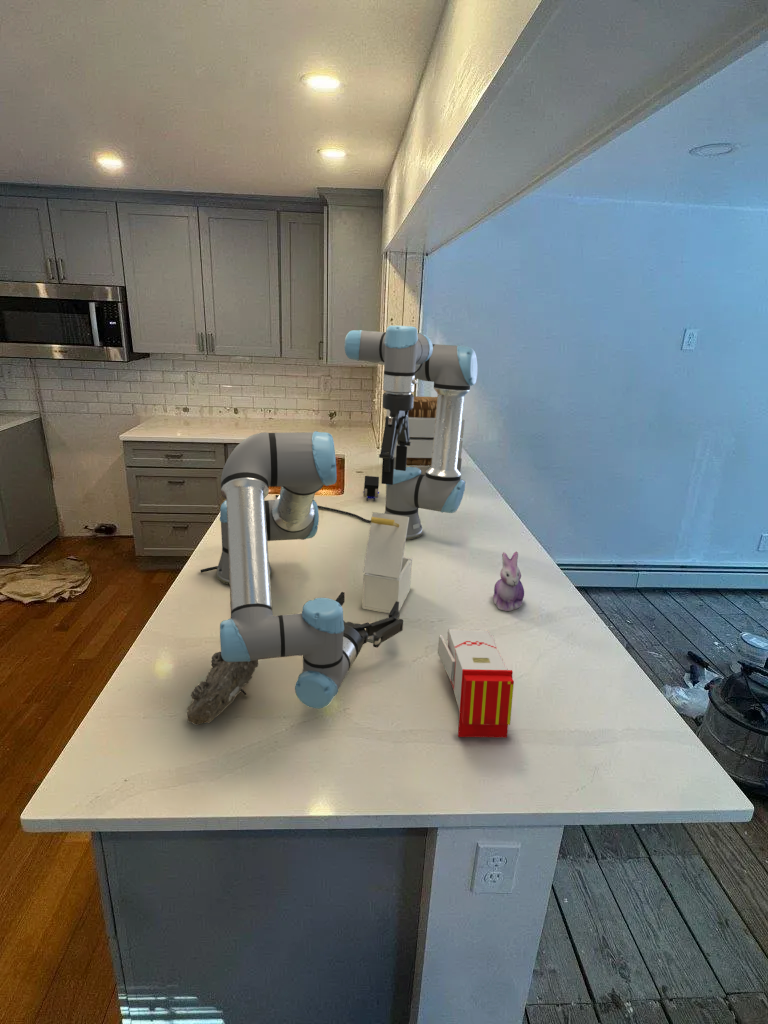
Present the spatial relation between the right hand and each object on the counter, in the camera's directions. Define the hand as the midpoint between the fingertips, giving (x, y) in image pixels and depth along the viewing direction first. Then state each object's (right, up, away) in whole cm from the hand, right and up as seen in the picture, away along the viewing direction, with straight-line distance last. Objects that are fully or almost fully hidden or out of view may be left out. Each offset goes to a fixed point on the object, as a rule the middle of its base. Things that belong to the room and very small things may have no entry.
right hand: (394, 476), depth 145 cm
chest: (-2, -33, +10) cm, 34 cm away
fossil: (-34, -46, -30) cm, 64 cm away
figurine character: (-8, -3, +92) cm, 92 cm away
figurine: (+31, -34, +10) cm, 47 cm away
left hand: (-6, -31, -8) cm, 32 cm away
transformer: (+15, +10, +130) cm, 131 cm away
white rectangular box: (-2, -17, +1) cm, 18 cm away
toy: (+15, -47, -26) cm, 56 cm away
